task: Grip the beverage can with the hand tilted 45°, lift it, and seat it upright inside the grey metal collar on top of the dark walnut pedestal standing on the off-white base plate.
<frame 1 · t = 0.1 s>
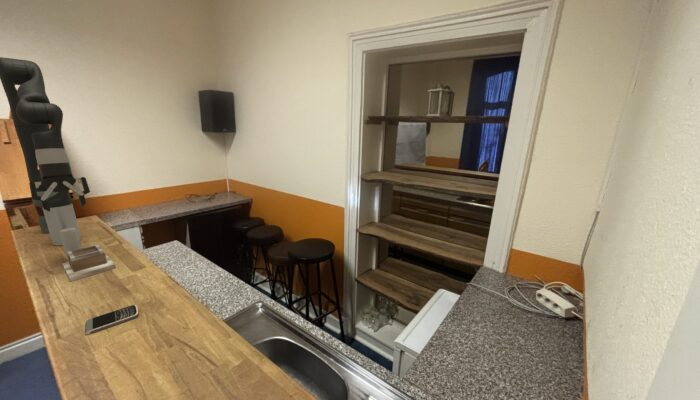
hand: (66, 208, 98), 22 cm above the table, tool pointing down, fingers open, 8 cm apart
pedestal base: (89, 267, 103), on the table
cell phone: (113, 322, 74), on the table
beverage can: (75, 258, 110), on the table
bottle: (55, 231, 140), on the table
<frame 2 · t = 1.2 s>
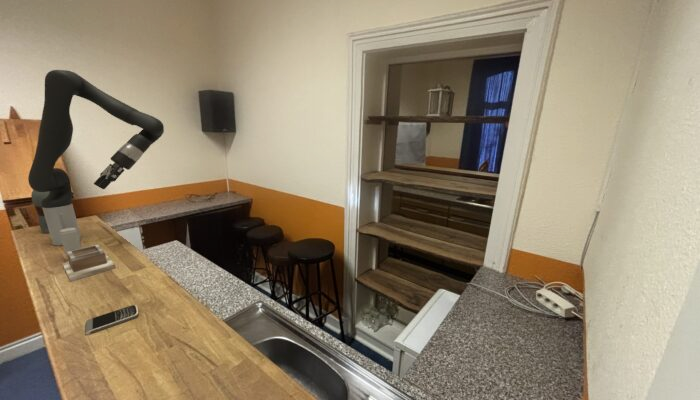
hand: (98, 186, 112), 27 cm above the table, tool tilted 45°, fingers open, 8 cm apart
nothing on the table moved.
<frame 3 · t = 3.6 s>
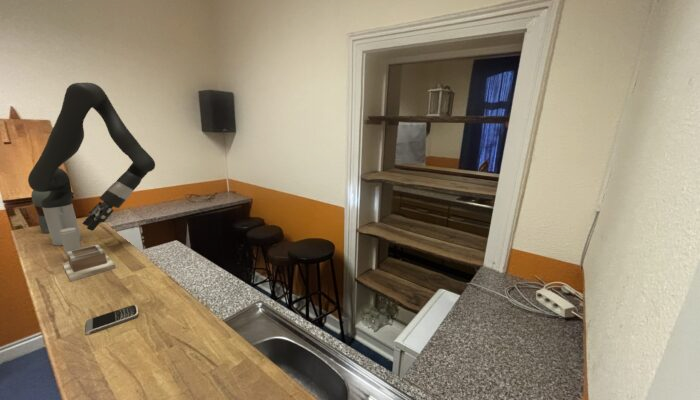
hand: (87, 227, 111), 11 cm above the table, tool tilted 45°, fingers open, 8 cm apart
nothing on the table moved.
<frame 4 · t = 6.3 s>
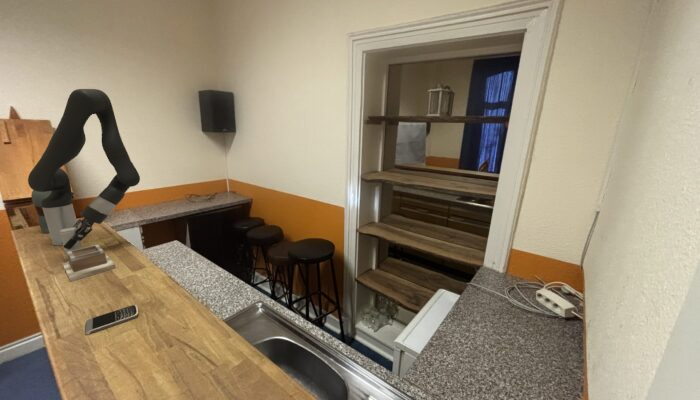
hand: (65, 246, 107), 6 cm above the table, tool tilted 45°, fingers closed on beverage can, 4 cm apart
beverage can: (75, 258, 110), on the table, touching gripper
everything else where it was.
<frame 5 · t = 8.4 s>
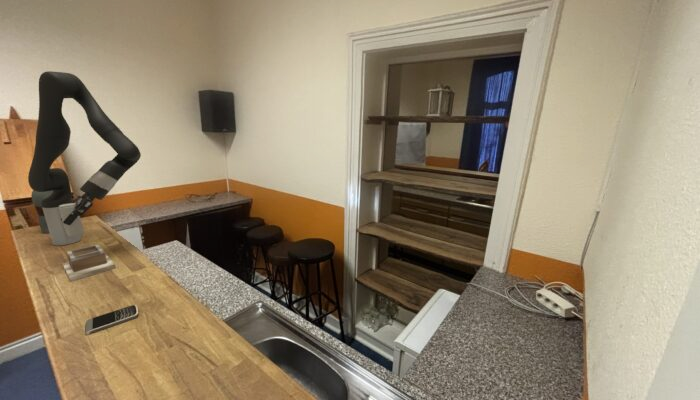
hand: (65, 222, 102), 16 cm above the table, tool tilted 45°, fingers closed on beverage can, 4 cm apart
beverage can: (76, 235, 105), point 10 cm above the table, touching gripper
everything else where it was.
when the fingers open (12 cm above the table, at t = 10.7 s): beverage can stays where it is, resting on pedestal base.
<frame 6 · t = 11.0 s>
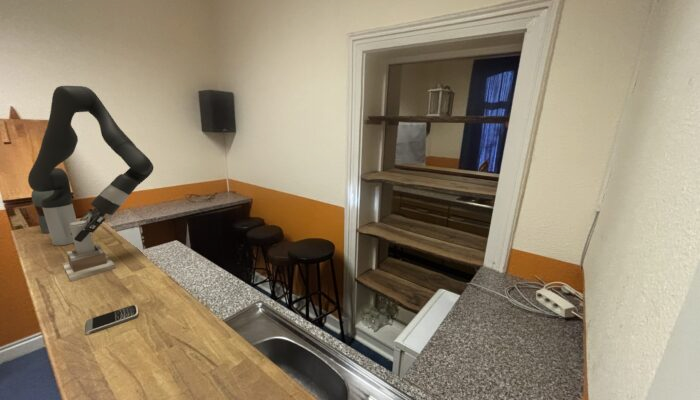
hand: (75, 238, 98), 12 cm above the table, tool tilted 45°, fingers open, 6 cm apart
beverage can: (86, 254, 101), point 5 cm above the table, touching pedestal base
everything else where it was.
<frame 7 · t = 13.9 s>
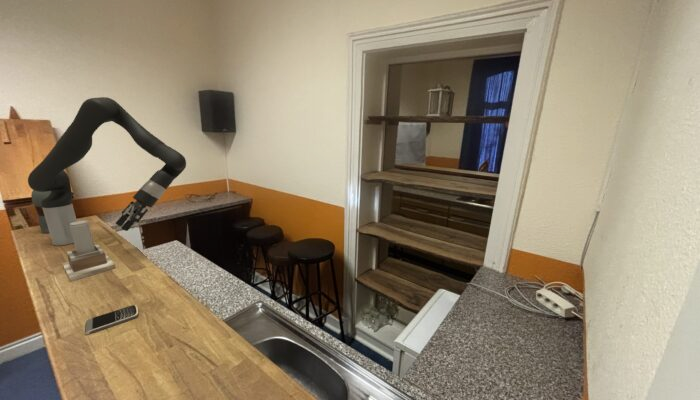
hand: (120, 227, 108), 13 cm above the table, tool tilted 45°, fingers open, 8 cm apart
nothing on the table moved.
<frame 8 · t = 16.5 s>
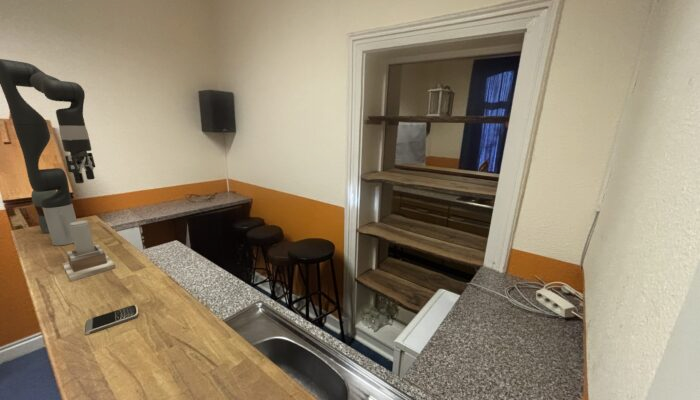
hand: (85, 181, 107), 30 cm above the table, tool pointing down, fingers open, 8 cm apart
nothing on the table moved.
at the end: beverage can 0.2 cm off-centre on the pedestal base, point 5.3 cm above the pedestal base's base; beverage can tilted 0°; the gripper is holding nothing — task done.
